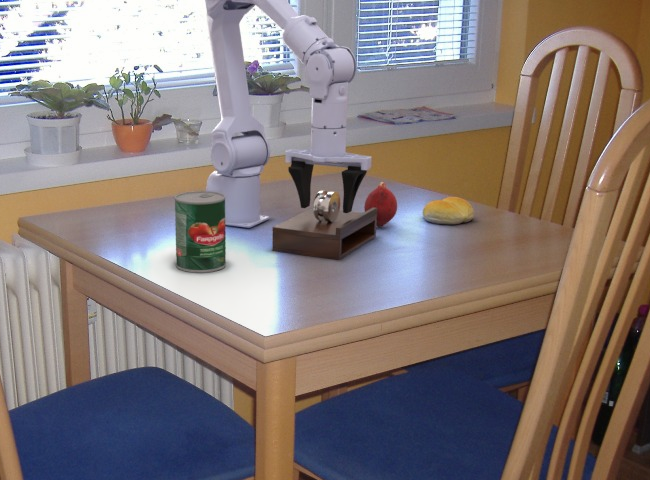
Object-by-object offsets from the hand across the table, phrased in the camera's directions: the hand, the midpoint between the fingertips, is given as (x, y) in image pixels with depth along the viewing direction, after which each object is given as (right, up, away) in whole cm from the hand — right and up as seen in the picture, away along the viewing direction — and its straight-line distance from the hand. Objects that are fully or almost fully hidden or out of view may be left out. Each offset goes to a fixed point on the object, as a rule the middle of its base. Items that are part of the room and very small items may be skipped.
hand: (326, 209), depth 171 cm
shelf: (0, -5, +2) cm, 6 cm away
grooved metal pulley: (0, -2, +1) cm, 2 cm away
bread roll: (+24, +1, +17) cm, 30 cm away
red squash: (+11, -1, +13) cm, 17 cm away
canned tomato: (-21, -11, -9) cm, 25 cm away
